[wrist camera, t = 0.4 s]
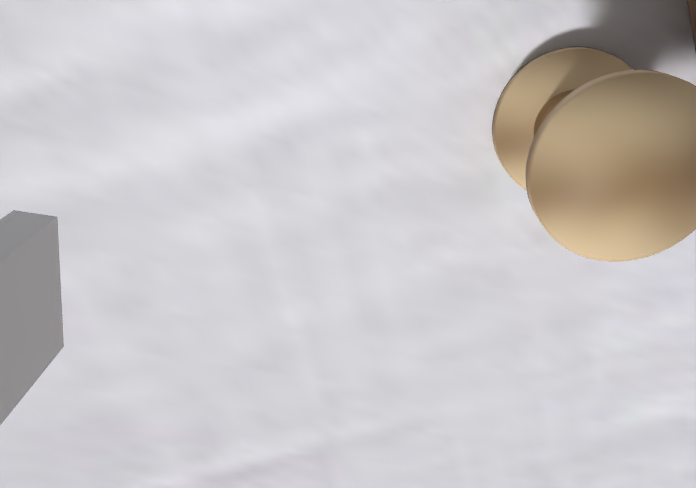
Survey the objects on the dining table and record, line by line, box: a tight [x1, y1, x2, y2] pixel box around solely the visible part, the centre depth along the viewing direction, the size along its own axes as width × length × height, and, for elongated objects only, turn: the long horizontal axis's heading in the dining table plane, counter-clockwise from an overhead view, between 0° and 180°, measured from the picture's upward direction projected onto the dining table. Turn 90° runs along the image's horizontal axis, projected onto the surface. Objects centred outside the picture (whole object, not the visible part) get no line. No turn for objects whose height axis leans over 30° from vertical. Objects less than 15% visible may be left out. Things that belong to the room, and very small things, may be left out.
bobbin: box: [492, 47, 696, 262], centre depth 30 cm, size 8×8×9 cm
